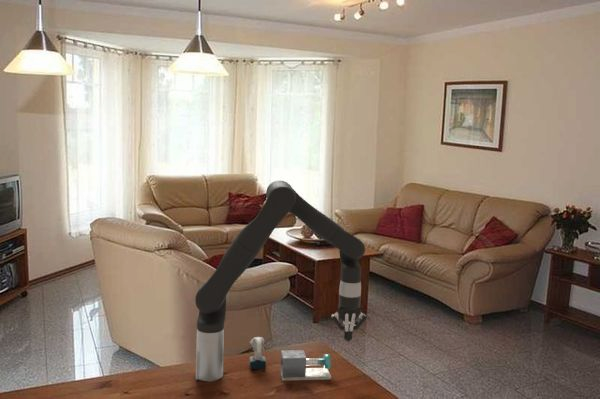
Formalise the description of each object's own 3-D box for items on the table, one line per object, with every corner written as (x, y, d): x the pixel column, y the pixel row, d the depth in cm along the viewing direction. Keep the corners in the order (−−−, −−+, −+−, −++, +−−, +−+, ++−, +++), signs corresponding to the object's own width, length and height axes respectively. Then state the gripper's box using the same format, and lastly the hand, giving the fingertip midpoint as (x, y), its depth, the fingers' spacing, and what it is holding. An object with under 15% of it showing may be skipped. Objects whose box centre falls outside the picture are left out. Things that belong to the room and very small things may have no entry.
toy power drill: (264, 362, 204) (265, 333, 203) (265, 371, 197) (266, 342, 195) (249, 362, 204) (249, 333, 202) (250, 372, 196) (251, 342, 194)
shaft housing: (282, 380, 190) (283, 358, 189) (280, 371, 197) (281, 350, 196) (330, 379, 193) (331, 357, 192) (327, 370, 200) (328, 349, 199)
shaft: (292, 372, 192) (293, 358, 191) (290, 365, 196) (291, 352, 196) (330, 371, 193) (331, 357, 193) (327, 365, 198) (328, 351, 198)
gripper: (333, 296, 188) (331, 345, 191) (371, 296, 190) (368, 344, 192) (329, 290, 195) (327, 336, 198) (365, 289, 197) (363, 335, 200)
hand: (347, 340), depth 195 cm, fingers closed
